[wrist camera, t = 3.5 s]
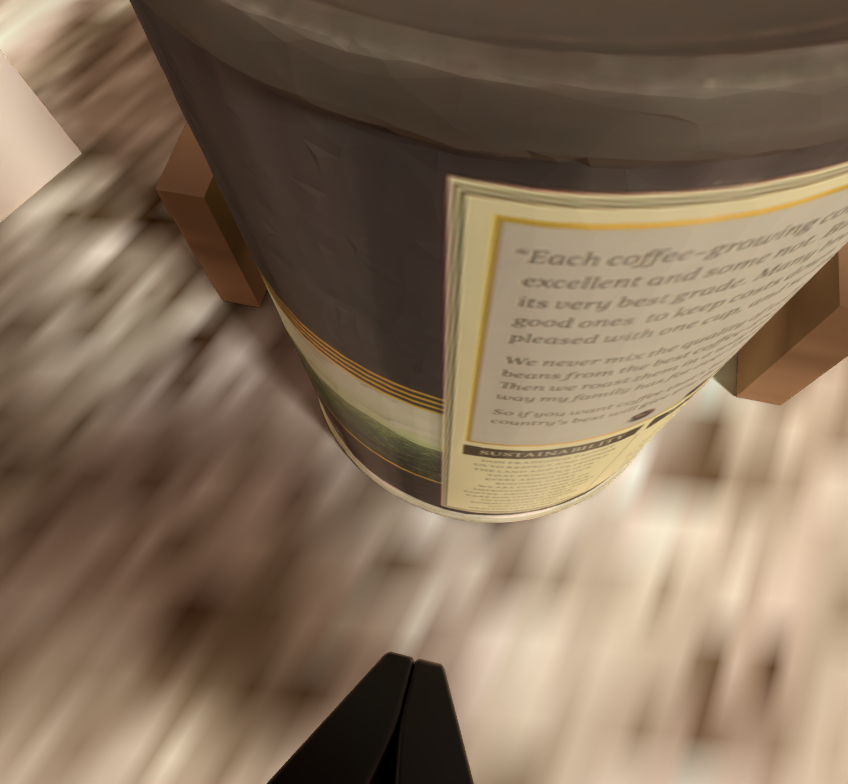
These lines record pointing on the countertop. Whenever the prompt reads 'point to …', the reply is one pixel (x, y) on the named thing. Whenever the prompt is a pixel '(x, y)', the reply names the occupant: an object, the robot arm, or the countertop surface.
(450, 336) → the coffee can
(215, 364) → the countertop surface
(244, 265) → the brown tray
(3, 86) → the milk
